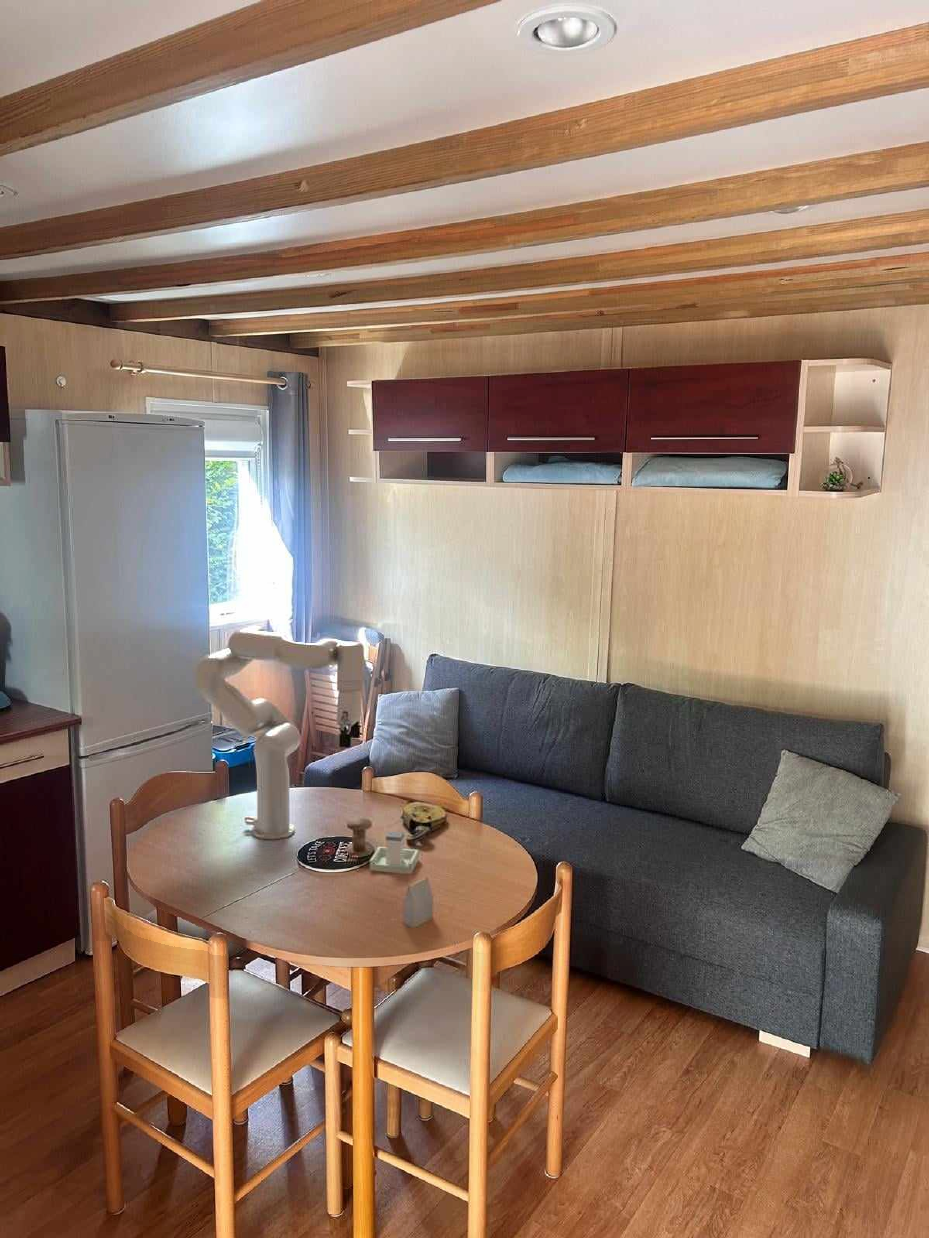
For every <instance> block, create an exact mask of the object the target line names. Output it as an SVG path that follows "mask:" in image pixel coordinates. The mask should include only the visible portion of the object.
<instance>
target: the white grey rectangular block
mask: <svg viewBox="0 0 929 1238" xmlns="http://www.w3.org/2000/svg"><path fill="white" fill-rule="evenodd" d="M404 837H405V832H404V831H396V830H395V831H394V830H389V831H388V833H387V834H386V836H385V841H386V842H385V843H386V845H385V847H386V864H389V865H401V863H402V861H403V849H404V842H405V841H404V840H405V838H404Z"/></svg>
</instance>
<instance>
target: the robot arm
mask: <svg viewBox="0 0 929 1238" xmlns="http://www.w3.org/2000/svg"><path fill="white" fill-rule="evenodd" d="M364 653H365V648H364V645H363V644H362V643H361V642H358V641H344V640H338V639H336V638H324V639H322V640H319V641H316V642H315V643H304V642H295V641H292V640H289V639H288V638H287V636H286V635H285V634H284V633H281V632H272V631H267V630H265V629H264V628H263V627H261V626H257V625H251V626H246V627H243V628H240V629H237V630H236V631H234V632H233V633H232V634H231V635H230V636H229V639H228V643H227V646H226V647H225V648H223V649H220V650H217V651H214V652H212V653H209V654H207V655H205V656H203V657H201V658H200V660H198V662H197V664H196V665H195V668H194V675H193V678H194V684H195V686H196V689H197V691H198V692H199V693H200V695H201V696H202V698H204V699H205V700H206V701H207V702H208V703H210V704H211V705H212V707H214V708H215V709H216V710H217V711H218V713H219V714H220V715H221V716H222V717H223V718H224V719H225V720H226V721H227V722H228V724H230V725H231V726H232V727H233V728H234V729H235V730H236V731H237V732H238V733H239V734H240V735H242V736H245V737H249V736H253V735H255V734H257V733H260V732H261V734H260V735H259V736H258V738H256V740H255V743H254V746H253V754H254V755H253V756H254V759H255V767H256V801H257V802H256V803H257V805H256V807H257V808H256V809H257V812H256V815H255V816H252V815H245V816H244V822H245V825H248V826H253V827H252V829H251V833H252V835H253V836H254V837H255V838H258V839H263V840H281V839H285V838H288V837H290V836H292V835H293V834H294V833H295V830H296V828H295V827H296V826H294V824H293V823H292V822H290V769H289V765H288V761H287V757H288V756H289V755H290V754H292V753H293V752H295V751H296V750H297V749H298V748H299V746H300V745H301V741H302V740H301V739H302V736H301V733H300V731H299V728H298V727H297V726H296V725H295V724H294V722H293V721H292V720H291V719H290V718H288V716H286V715H285V713H283V711H282V710H281V709H280V708H279V707H277V706H276V705H275V704H274V702H272V701H270V699H269V700H268V699H266V698H262V697H260V698H258V697H257V698H254V699H251V700H249V699H248V698H247V697H246V696H245V695H244V694H243V693H242V692H241V691H240V690H239V689H238V688H237V687H236V686H234V685H232V684H230V683H229V682H227V681H226V679H227V678H230V677H232V676H234V675H236V674H238V673H239V672H241V671H242V670H244V669H245V668H246V667H247V666H248V665H249V664H251V663H252V662H253V661H254V660H257V661H264V662H272V663H273V662H274V663H279V664H280V665H284V666H286V667H288V668H293V669H301V670H309V671H320V670H323V669H326V668H328V667H329V666H332V665H335V664H336V665H337V667H336V668H337V669H336V670H337V671H336V677H337V678H336V690H337V691H338V694H337V703H336V704H337V706H336V725H337V726H339V728H338V729H339V733H338V735H339V739H338V741H339V742H338V743H339V748H345V749H346V748H348V749H349V748H351V747H352V745H351V744H352V742H351V741H352V740H351V739H360V738H361V720H360V719H361V716H362V692H363V691H364V673H365V672H364V668H365V667H364V665H365V662H364V659H365V658H364V657H365V656H364V655H365V654H364Z"/></svg>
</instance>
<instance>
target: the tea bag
mask: <svg viewBox="0 0 929 1238" xmlns="http://www.w3.org/2000/svg"><path fill="white" fill-rule="evenodd" d="M433 907H434V894H433V891H432V888H431V884H430V881H429V878H428V877H425V878H423V879H420V880H417V882H416V881H415V882H413V883H411V884H410V885H408V886H407V891H406V892H405V895H404V898H403V900H402V923H403V924H404V925H407V926H410V927H412V928H415V927H418V926H420V925H421V924H424V923H426V922H427V921H429V920H432V919H433V916H434V915H433V912H434V909H433Z"/></svg>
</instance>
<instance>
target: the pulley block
mask: <svg viewBox="0 0 929 1238" xmlns="http://www.w3.org/2000/svg"><path fill="white" fill-rule="evenodd" d="M446 814H447V813H446V809H445V808H444V809H443V808H442V807H441V806H439V805H438V804H431V803H428V802H425V801H420V800H407V802H406V804H405V805H404V807H403V809H402V814H401V816H400V818H401V820H402V821H403V824H405V825H406V827H407V829H408V831H409V832H410V833H411V834H407V835H406V842H407V843H408V844H415V845H417V844H418V843H419V842H420V841H422V840H424V839H425V838H427V837H428V836H429V835H430V834H431V833H433V832H434V831H436V830H438V829H441V828H443V827H444V826H445V823H446V822H445V819H446Z"/></svg>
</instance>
